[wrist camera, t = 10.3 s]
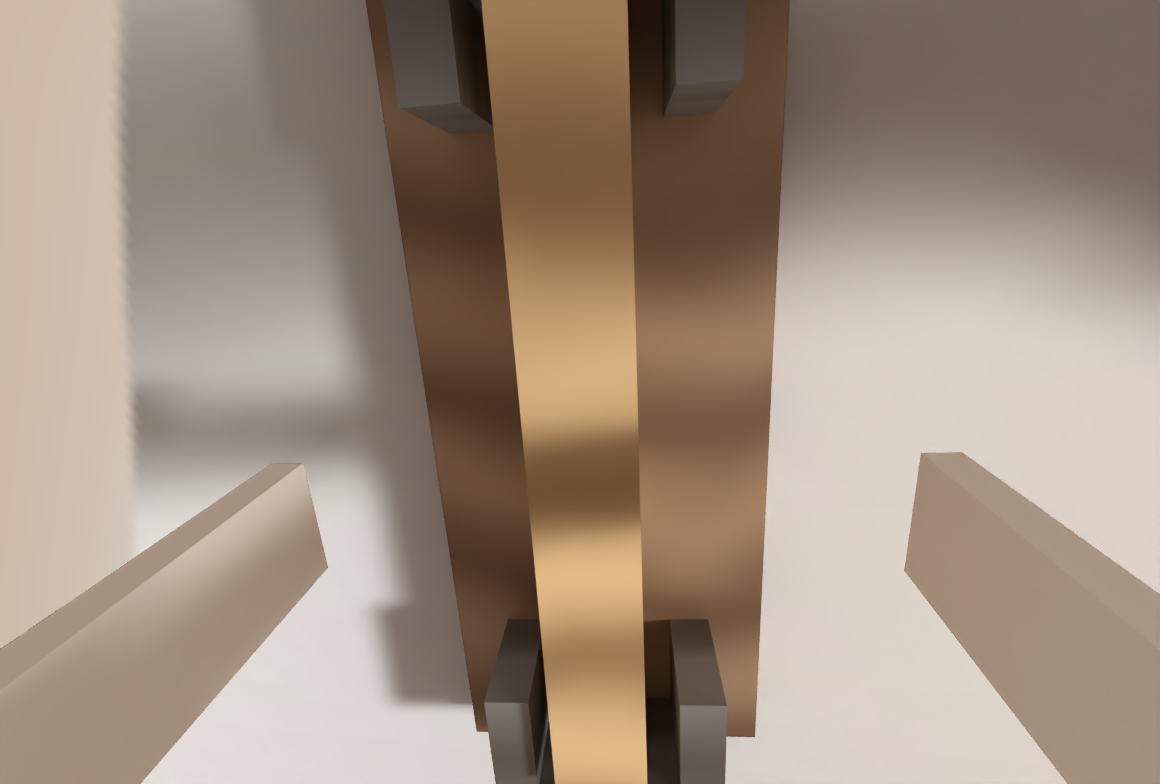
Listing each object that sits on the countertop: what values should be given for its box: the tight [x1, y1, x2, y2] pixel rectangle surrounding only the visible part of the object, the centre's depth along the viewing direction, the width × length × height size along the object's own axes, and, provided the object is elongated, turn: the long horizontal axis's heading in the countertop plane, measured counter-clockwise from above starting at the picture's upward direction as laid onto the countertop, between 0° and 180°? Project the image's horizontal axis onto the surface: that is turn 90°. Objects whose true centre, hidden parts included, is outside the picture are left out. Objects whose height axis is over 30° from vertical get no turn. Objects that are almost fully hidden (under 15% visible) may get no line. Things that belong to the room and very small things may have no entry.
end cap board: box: [366, 0, 789, 784], centre depth 18 cm, size 30×12×6 cm, turn 3°
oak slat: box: [481, 0, 647, 784], centre depth 17 cm, size 24×3×5 cm, turn 3°
